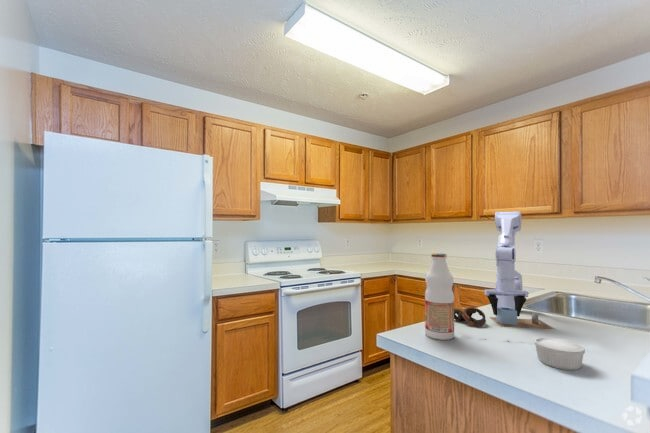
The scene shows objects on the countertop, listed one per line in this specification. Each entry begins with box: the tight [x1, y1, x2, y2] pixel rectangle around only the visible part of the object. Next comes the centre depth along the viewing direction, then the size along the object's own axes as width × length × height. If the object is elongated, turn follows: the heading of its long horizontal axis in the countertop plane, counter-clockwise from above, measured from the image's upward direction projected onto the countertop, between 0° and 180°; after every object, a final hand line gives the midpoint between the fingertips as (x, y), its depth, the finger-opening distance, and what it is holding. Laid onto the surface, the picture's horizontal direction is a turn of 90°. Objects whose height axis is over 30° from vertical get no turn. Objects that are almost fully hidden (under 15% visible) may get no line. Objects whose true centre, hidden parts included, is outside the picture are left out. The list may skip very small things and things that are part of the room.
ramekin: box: [534, 337, 586, 371], centre depth 88 cm, size 11×11×5 cm
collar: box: [495, 307, 518, 325], centre depth 120 cm, size 5×5×5 cm
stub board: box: [489, 312, 556, 330], centre depth 119 cm, size 18×12×5 cm, turn 81°
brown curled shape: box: [454, 306, 487, 328], centre depth 119 cm, size 12×10×8 cm
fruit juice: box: [424, 252, 455, 341], centre depth 109 cm, size 9×9×28 cm
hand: (506, 315), depth 120 cm, fingers open, 7 cm apart
